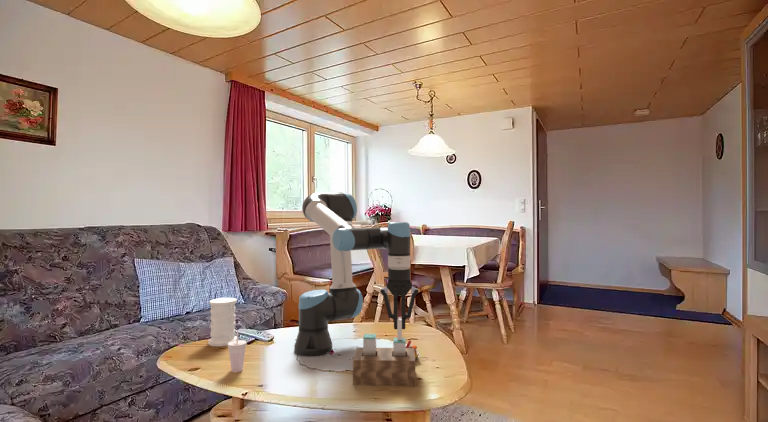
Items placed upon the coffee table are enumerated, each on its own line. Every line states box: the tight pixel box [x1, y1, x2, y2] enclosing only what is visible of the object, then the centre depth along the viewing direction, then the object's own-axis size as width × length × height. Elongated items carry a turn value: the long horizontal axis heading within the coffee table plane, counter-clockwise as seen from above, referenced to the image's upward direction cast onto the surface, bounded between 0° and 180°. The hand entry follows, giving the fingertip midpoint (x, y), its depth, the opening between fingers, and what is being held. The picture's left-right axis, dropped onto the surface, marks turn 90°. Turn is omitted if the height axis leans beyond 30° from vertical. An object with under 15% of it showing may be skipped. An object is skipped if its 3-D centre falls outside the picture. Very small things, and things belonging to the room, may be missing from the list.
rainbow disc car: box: [406, 340, 418, 359], centre depth 149 cm, size 8×10×7 cm
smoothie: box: [227, 330, 248, 373], centre depth 138 cm, size 6×6×14 cm
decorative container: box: [208, 297, 237, 347], centre depth 169 cm, size 12×12×18 cm
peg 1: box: [362, 333, 377, 356], centre depth 132 cm, size 4×4×8 cm
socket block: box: [352, 347, 416, 387], centre depth 131 cm, size 20×12×8 cm, turn 88°
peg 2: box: [392, 337, 407, 357], centre depth 131 cm, size 4×4×8 cm
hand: (399, 338), depth 131 cm, fingers closed
